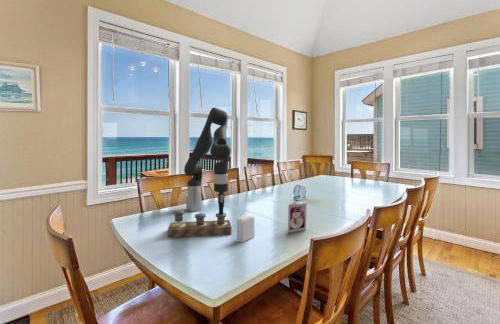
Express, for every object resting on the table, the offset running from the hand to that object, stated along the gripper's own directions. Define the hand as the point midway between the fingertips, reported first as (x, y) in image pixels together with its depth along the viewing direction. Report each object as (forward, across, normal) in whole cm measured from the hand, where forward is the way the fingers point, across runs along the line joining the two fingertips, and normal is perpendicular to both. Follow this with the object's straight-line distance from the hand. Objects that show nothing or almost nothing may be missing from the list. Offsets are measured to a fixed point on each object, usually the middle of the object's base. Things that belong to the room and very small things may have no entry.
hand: (221, 214), depth 143 cm
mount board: (+9, 0, +11) cm, 14 cm away
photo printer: (+10, -13, -11) cm, 20 cm away
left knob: (+2, 0, +22) cm, 22 cm away
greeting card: (+10, -4, -40) cm, 41 cm away
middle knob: (+5, 0, +11) cm, 12 cm away
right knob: (+5, 0, 0) cm, 5 cm away
